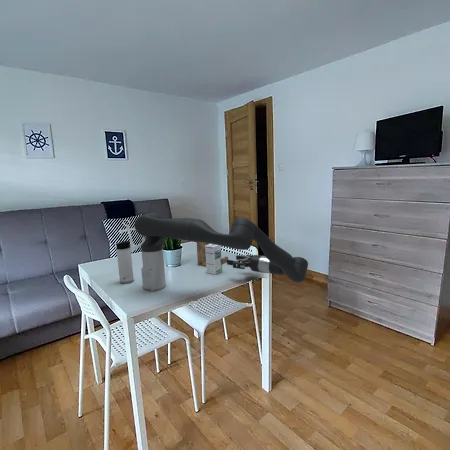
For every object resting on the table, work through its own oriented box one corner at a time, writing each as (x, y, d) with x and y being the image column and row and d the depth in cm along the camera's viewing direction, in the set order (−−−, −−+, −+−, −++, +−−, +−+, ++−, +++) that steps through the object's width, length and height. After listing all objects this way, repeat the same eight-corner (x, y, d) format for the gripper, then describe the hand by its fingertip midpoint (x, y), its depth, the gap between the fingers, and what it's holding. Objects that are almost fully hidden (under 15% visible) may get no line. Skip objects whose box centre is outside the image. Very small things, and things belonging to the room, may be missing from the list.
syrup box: (215, 274, 138) (213, 246, 136) (206, 272, 142) (204, 245, 140) (222, 271, 143) (221, 243, 140) (213, 269, 146) (212, 242, 144)
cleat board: (214, 268, 148) (212, 235, 145) (197, 265, 154) (196, 233, 151) (228, 261, 160) (226, 230, 157) (212, 258, 166) (211, 228, 163)
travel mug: (126, 285, 129) (122, 243, 126) (117, 282, 133) (112, 241, 129) (137, 280, 135) (133, 240, 131) (128, 278, 138) (124, 239, 135)
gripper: (268, 252, 132) (239, 248, 141) (255, 260, 120) (223, 255, 129) (269, 267, 133) (239, 263, 142) (255, 277, 121) (224, 271, 130)
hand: (231, 259), depth 135 cm, fingers open, 8 cm apart
